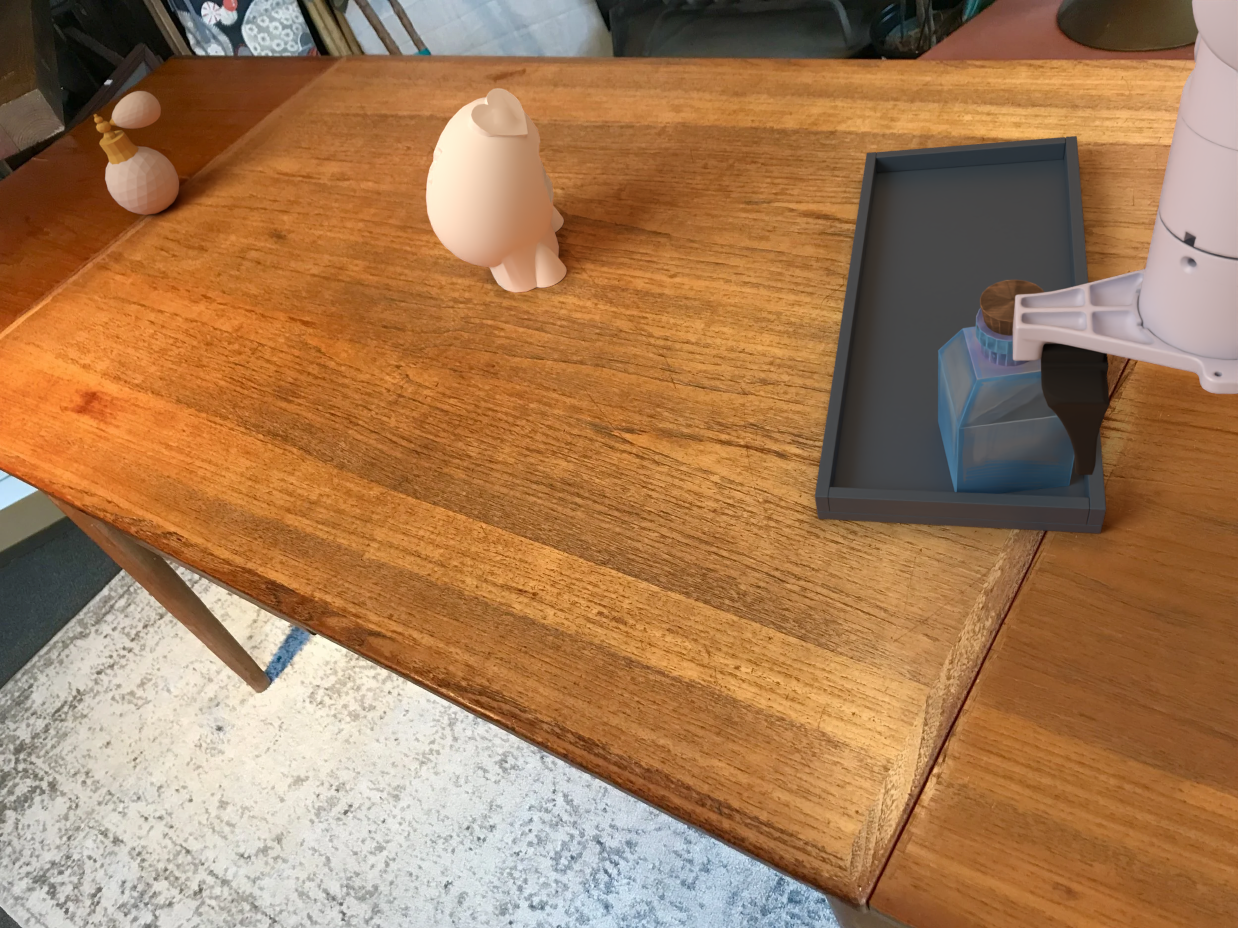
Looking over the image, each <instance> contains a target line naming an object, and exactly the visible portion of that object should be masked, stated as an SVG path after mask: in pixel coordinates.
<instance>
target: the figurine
mask: <svg viewBox="0 0 1238 928" xmlns="http://www.w3.org/2000/svg"><path fill="white" fill-rule="evenodd" d="M539 131H540V130H539V128H538V127H537V125H536V124H535V123H534V121H533V120H532V118H531V117H530V115H528V113H526V111H525V110H524V108H523V106H522V103H521V101H520V100H519V99H518V98H517V97H516V96H515V95H514V94H513V93H511V92H510V91H508V90H507V89H504V88H501V87H496V88H492V89H491V90H489V91H488V92H487V94H486V96H483V97H480V98H477V99H475V100H473V101H471V102H469V103H467V104H465V105H464V106H462V107H461V108H460V109H459V110H458V111H457V112H456V113H455V114H454V115H453V116H452V117H451V118H450V119H449V121H448V122H447V124H446V125H445V127H444V129H443V130H442V132H441V133H440V136H439V138H438V140H437V143H436V146H435V148H434V151H433V156H432V159H433V160H432V162H431V165H430V167H429V170H428V174H427V179H426V189H425V190H426V192H425V201H426V212H427V217H428V219H429V223H430V225H431V228H432V230H433V232H434V233H435V235H436V237H437V238H438V240H439V242H441V244H442V246H444V247H445V248H446V249H447V250H448V251H449V252H450V253H452V254H453V255H454V256H455V257H456V258H458V259H459V260H462V261H464V262H466V263H468V264H471V265H473V266H479V267H481V268H482V267H484V268H489V269H490V272H491V275H492V276H493V278H494V280H495V281H496V283H497V285H498V286H500V287H501V288H502V289H504V290H505V291H508V292H512V293H524V292H525V293H527V292H529V291H531V290H533V289H535V288H539V289H540V288H541V289H542V288H549V287H551V286H552V287H553V286H555V285H556V284H558V283H560V282H561V281H562V280H563V279H564V278H565V277H566V274H567V267H566V265H565V264H564V263H563V261H562V260H561V259H560V258H559V251H560V246H559V242H558V237H557V235H556V232H558V231H559V230H560V229H561V228H562V227H563V226H564V223H565V222H564V221H565V220H564V217H563V216H562V214H560V212H559V210H558V209H557V208H556V207H555V206H554V200H555V199H554V196H555V192H554V187H553V186H554V185H553V181H552V180H551V177H550V176H549V174H547V171H546V168H545V165H544V163H543V161H542V158H541V156H540V144H541V143H542V141H541V137H540V133H539Z"/></svg>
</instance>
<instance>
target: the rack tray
mask: <svg viewBox="0 0 1238 928" xmlns="http://www.w3.org/2000/svg"><path fill="white" fill-rule="evenodd" d="M1081 182H1082V181H1081V172H1080V159H1079V146H1078V136H1077V135H1072V136H1071V135H1070V136H1059V137H1047V138H1036V139H1024V140H1023V139H1022V140H1011V141H1010V140H1009V141H997V142H987V143H971V144H961V145H959V144H958V145H947V146H936V147H934V146H933V147H923V148H922V147H921V148H910V149H898V150H886V151H885V150H884V151H877V152H876V151H873V152H872V151H871V152H866V155H865V162H864V167H863V174H862V181H861V187H860V194H859V201H858V208H857V214H856V221H855V227H854V234H853V241H852V247H851V254H850V261H849V266H848V268H849V269H848V273H847V281H846V286H845V293H844V301H843V307H842V313H841V321H840V325H839V326H840V327H839V334H838V341H837V346H836V354H835V360H834V365H833V366H834V368H833V373H832V380H831V387H830V393H829V400H828V406H827V413H826V419H825V424H824V425H825V426H824V431H823V432H824V433H823V440H822V446H821V453H820V459H819V466H818V471H817V472H818V473H817V478H816V486H815V491H814V501H815V507H816V513H817V519H819V520H834V521H835V520H837V521H852V522H853V521H854V522H874V523H890V524H891V523H893V524H911V525H928V526H929V525H932V526H949V527H951V526H952V527H966V528H967V527H970V528H971V527H972V528H990V529H1006V530H1007V529H1008V530H1010V529H1011V530H1024V531H1025V530H1027V531H1028V530H1029V531H1046V532H1047V531H1048V532H1063V533H1081V534H1082V533H1085V534H1102V529H1103V525H1104V522H1105V518H1106V513H1107V504H1106V503H1107V502H1106V501H1107V500H1106V489H1105V487H1106V486H1105V475H1104V463H1103V462H1104V461H1103V451H1102V449H1103V448H1102V438H1101V437H1102V436H1101V429H1100V430H1099V434H1098V438H1097V448H1096V463H1095V468H1094V471H1093V474H1092V475H1079V474H1077V473H1075V462H1074V461H1073V466H1072V472H1071V478H1070V484H1069V486H1063V487H1054V488H1045V489H1036V490H1027V491H1018V492H1009V493H1000V494H990V493H965V492H955V491H954V487H953V483H952V478H951V474H950V470H949V466H948V461H947V457H946V453H945V449H944V444H943V440H942V436H941V432H940V427H939V423H938V350H939V349H940V348H941V347H943V346H944V345H945V344H946V343H947V342H948V341H949V340H950V339H952V338H953V337H954V336H955V335H956V334H957V333H958V332H959V331H960V330H962V329H963V328H969V327H975V326H976V316H977V313H978V311H979V309H980V308H981V306H980V297H981V295H982V293H983V292H984V291H985V290H986V289H987V288H988V287H989V286H991V285H993V284H995V283H998V282H1002V281H1005V280H1023V281H1028V282H1031V283H1033V284H1036V285H1037V286H1039V287H1040V288H1041V289H1043V291H1044V292H1052V291H1057V290H1061V289H1066V288H1070V287H1074V286H1078V285H1082V284H1086V283H1089V272H1088V271H1089V270H1088V259H1087V248H1086V247H1087V246H1086V234H1085V233H1086V232H1085V221H1084V210H1083V208H1084V207H1083V197H1082V183H1081Z"/></svg>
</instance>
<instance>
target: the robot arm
mask: <svg viewBox="0 0 1238 928" xmlns="http://www.w3.org/2000/svg"><path fill="white" fill-rule="evenodd" d="M1191 6H1192V14H1193V19H1194V23H1195V27H1196V29H1197V32H1198V33H1197V35H1196V40H1195V43H1194V49H1193V52H1194V53H1193V54H1194V55H1193V56H1194V57H1193V58H1194V68H1193V69H1192V70H1191V72H1190V74H1189V75H1188V77H1187V78H1186V81H1185V83H1184V85H1183V87H1182V91H1181V95H1180V99H1179V100H1180V101H1179V105H1178V110H1177V113H1176V114H1177V115H1176V120H1175V124H1174V128H1173V133H1172V138H1171V143H1170V147H1169V153H1168V157H1167V162H1166V167H1165V171H1164V177H1163V180H1162V181H1163V182H1162V186H1161V190H1160V195H1159V200H1158V206H1157V212H1156V216H1155V222H1154V226H1153V230H1152V235H1151V240H1150V245H1149V250H1148V254H1147V258H1146V263H1145V267H1144V268H1142V269H1137V270H1134V271H1130V272H1126V273H1123V274H1119V275H1115V276H1111V277H1107V278H1102V279H1098V280H1094V281H1091V282H1088V283H1086V284H1082V285H1078V286H1074V287H1070V288H1066V289H1061V290H1057V291H1052V292H1044V293H1037V294H1021V295H1016V296H1015V308H1014V320H1013V360H1015V361H1029V360H1039V359H1040V358H1041V385H1042V391H1043V394H1044V397H1045V400H1046V402H1047V405H1048V406H1049V407H1050V408H1051V409H1052V410H1053V411H1054V412H1055V414H1056V415H1057V416H1058V418H1059V419H1060V420H1061V422H1062V423H1063V425H1064V427H1065V429H1066V431H1067V433H1068V435H1069V438H1070V440H1071V443H1072V446H1073V450H1074V462H1075V473H1077V474H1079V475H1092V474H1093V471H1094V468H1095V463H1096V448H1097V438H1098V434H1099V430H1100V431H1101V426H1102V425H1103V421H1104V418H1105V415H1106V413H1107V410H1108V408H1109V407H1110V394H1109V393H1110V392H1109V382H1108V380H1109V379H1108V372H1109V371H1108V370H1109V365H1110V364H1109V359H1108V355H1111V356H1117V357H1120V358H1125V359H1129V360H1134V361H1139V362H1144V363H1148V364H1153V365H1157V366H1161V367H1167V368H1171V369H1176V370H1180V371H1184V372H1190V373H1193V374H1196V375H1197V376H1198V379H1199V384H1200V386H1201V388H1202V389H1203V390H1205V391H1207V392H1208V393H1212V394H1216V395H1238V0H1191Z"/></svg>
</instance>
